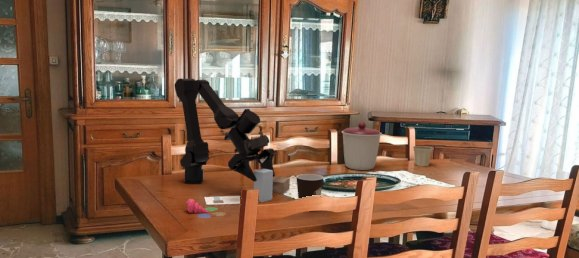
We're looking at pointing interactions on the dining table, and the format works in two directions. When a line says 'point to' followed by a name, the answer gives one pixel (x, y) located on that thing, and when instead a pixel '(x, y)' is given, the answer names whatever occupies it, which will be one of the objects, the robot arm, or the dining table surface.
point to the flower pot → (422, 155)
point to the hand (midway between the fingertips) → (265, 178)
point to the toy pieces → (201, 209)
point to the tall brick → (264, 184)
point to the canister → (360, 147)
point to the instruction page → (222, 200)
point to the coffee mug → (309, 185)
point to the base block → (280, 185)
